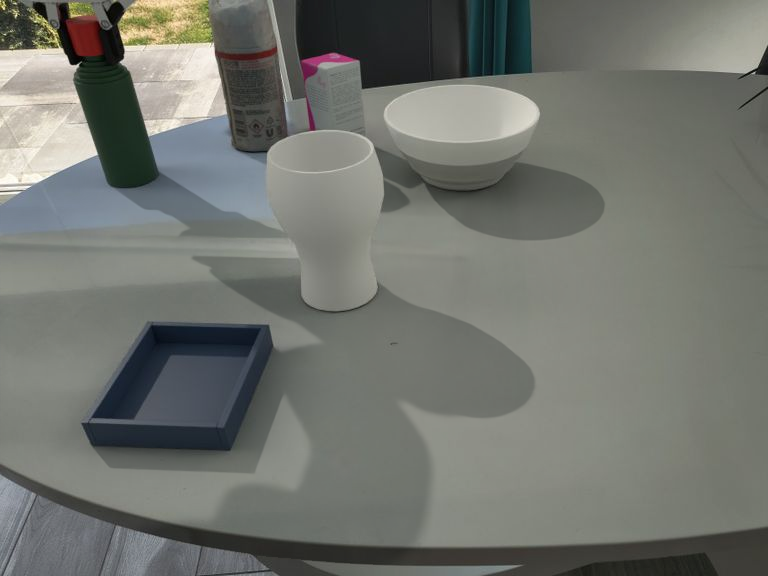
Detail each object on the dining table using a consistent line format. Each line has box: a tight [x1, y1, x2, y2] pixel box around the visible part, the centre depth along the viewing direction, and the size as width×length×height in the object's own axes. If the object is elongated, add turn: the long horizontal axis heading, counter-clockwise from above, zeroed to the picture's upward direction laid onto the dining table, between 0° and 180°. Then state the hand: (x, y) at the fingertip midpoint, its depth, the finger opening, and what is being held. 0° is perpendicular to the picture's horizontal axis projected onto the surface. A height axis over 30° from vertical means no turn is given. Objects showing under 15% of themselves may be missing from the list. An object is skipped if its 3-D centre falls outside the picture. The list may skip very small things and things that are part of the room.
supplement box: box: [300, 52, 367, 138], centre depth 100 cm, size 6×6×12 cm
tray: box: [80, 320, 274, 451], centre depth 62 cm, size 11×13×2 cm
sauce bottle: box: [72, 54, 160, 189], centre depth 90 cm, size 6×6×18 cm
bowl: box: [383, 84, 541, 192], centre depth 94 cm, size 20×20×8 cm
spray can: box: [208, 0, 290, 152], centre depth 98 cm, size 8×8×20 cm
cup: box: [265, 130, 385, 312], centre depth 70 cm, size 11×11×15 cm
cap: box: [66, 14, 104, 56], centre depth 85 cm, size 4×4×4 cm
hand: (97, 60), depth 86 cm, fingers closed on cap, 3 cm apart
